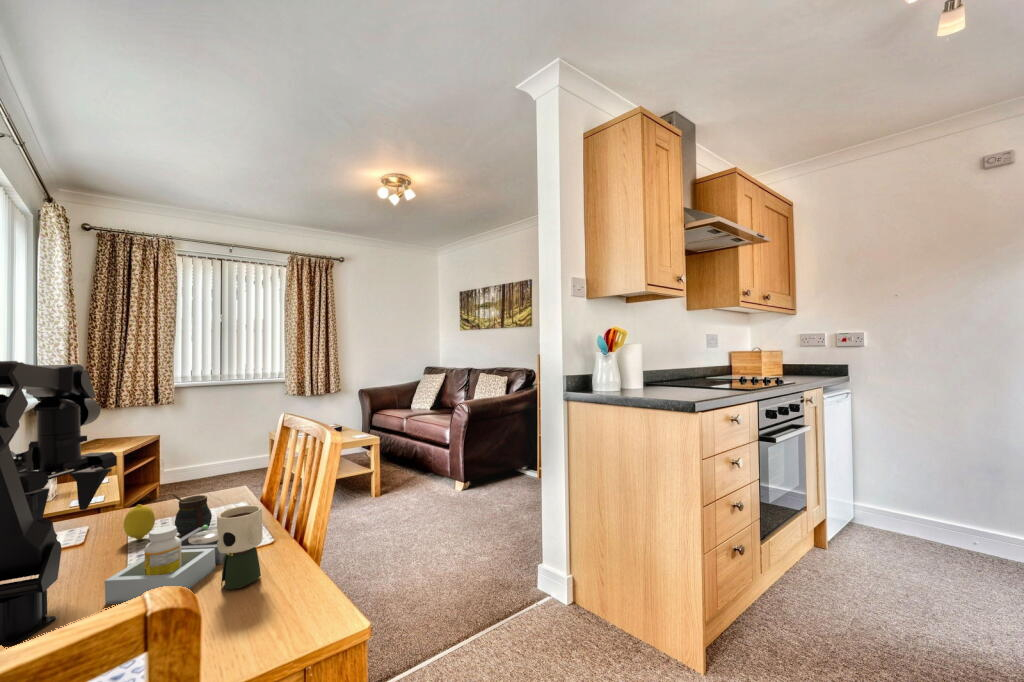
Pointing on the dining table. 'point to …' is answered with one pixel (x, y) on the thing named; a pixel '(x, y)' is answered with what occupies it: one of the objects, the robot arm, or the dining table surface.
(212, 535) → the disc
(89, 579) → the dining table surface
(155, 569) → the supplement bottle
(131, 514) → the lemon
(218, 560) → the grey square tray
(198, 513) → the mate gourd
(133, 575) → the bin
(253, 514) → the character mug
